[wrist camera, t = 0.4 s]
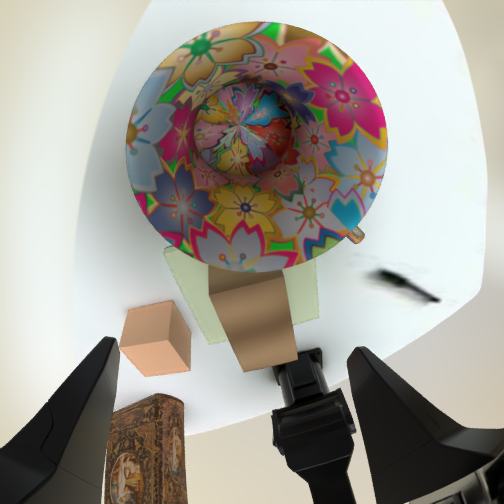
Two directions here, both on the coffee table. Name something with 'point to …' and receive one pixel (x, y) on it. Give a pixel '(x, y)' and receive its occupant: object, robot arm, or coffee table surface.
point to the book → (147, 453)
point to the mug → (256, 147)
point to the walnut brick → (254, 316)
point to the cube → (157, 339)
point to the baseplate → (197, 297)
